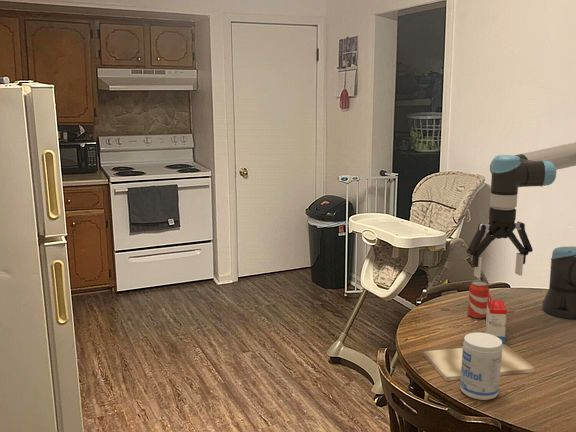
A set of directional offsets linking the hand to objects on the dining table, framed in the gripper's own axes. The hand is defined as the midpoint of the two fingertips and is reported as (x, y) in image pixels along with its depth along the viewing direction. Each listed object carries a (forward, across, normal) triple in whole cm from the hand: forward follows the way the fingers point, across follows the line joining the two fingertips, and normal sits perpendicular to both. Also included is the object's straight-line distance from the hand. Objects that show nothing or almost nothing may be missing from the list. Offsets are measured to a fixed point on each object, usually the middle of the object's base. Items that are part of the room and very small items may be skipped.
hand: (497, 275), depth 177 cm
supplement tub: (+22, +20, +29) cm, 41 cm away
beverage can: (+21, -4, -19) cm, 29 cm away
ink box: (+21, 0, 0) cm, 21 cm away
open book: (+21, +12, +14) cm, 28 cm away
